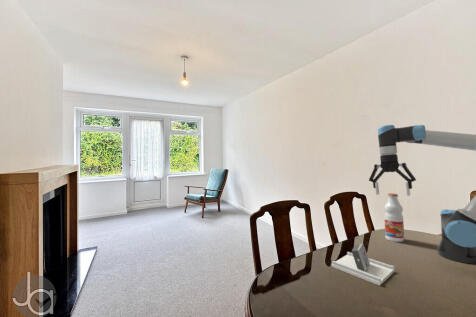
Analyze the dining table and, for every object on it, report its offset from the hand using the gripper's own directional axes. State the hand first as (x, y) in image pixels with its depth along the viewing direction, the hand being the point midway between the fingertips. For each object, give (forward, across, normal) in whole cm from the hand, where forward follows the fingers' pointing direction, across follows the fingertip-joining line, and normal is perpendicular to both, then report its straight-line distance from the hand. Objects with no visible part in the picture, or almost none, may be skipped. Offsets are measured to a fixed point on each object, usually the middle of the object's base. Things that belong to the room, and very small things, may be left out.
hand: (392, 194), depth 112 cm
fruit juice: (+30, +7, -24) cm, 39 cm away
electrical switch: (+30, +8, +29) cm, 42 cm away
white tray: (+31, +8, +29) cm, 43 cm away
